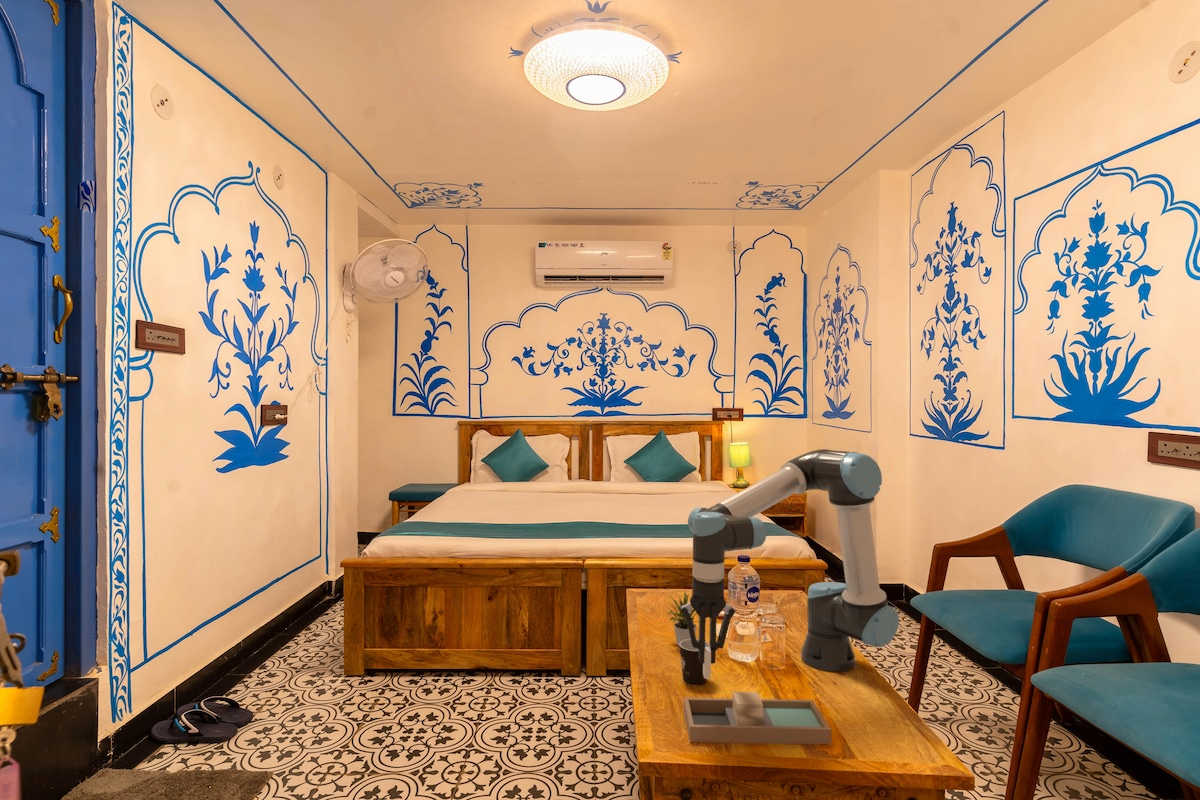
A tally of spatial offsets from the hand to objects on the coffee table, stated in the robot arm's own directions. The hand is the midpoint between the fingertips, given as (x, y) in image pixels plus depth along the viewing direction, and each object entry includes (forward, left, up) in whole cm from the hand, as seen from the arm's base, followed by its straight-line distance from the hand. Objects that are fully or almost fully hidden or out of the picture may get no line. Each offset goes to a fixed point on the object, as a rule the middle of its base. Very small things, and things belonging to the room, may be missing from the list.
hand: (706, 676), depth 154 cm
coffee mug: (0, -26, -12) cm, 29 cm away
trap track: (-11, 0, -12) cm, 17 cm away
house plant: (+1, -51, -12) cm, 53 cm away
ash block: (-10, 0, -10) cm, 14 cm away
